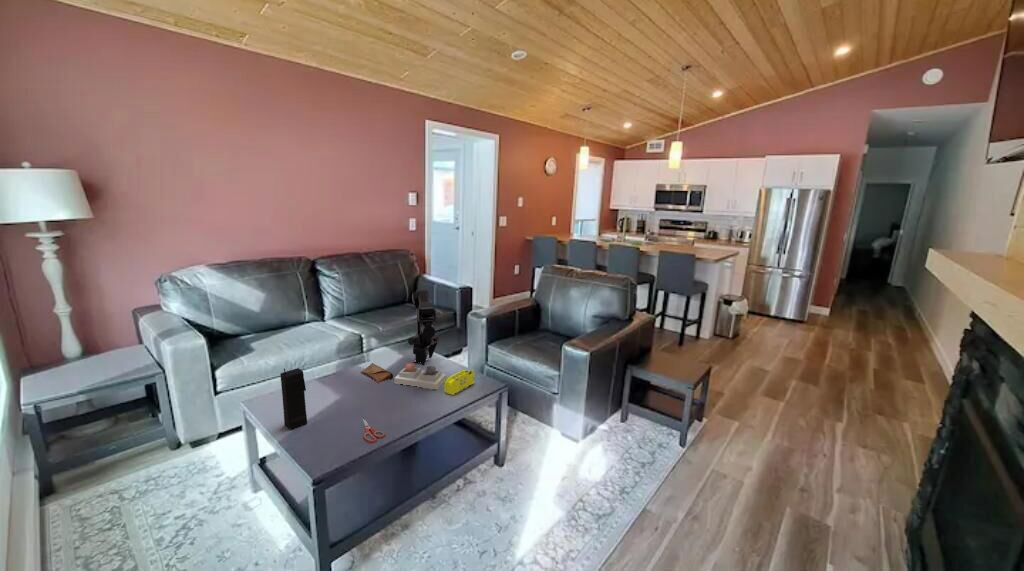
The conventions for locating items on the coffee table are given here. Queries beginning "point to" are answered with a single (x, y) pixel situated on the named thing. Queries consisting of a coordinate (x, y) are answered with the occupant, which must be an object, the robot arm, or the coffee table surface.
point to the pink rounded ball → (410, 367)
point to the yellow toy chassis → (459, 381)
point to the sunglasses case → (377, 373)
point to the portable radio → (293, 398)
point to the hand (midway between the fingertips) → (426, 361)
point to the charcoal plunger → (430, 370)
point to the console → (420, 378)
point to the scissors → (372, 433)
